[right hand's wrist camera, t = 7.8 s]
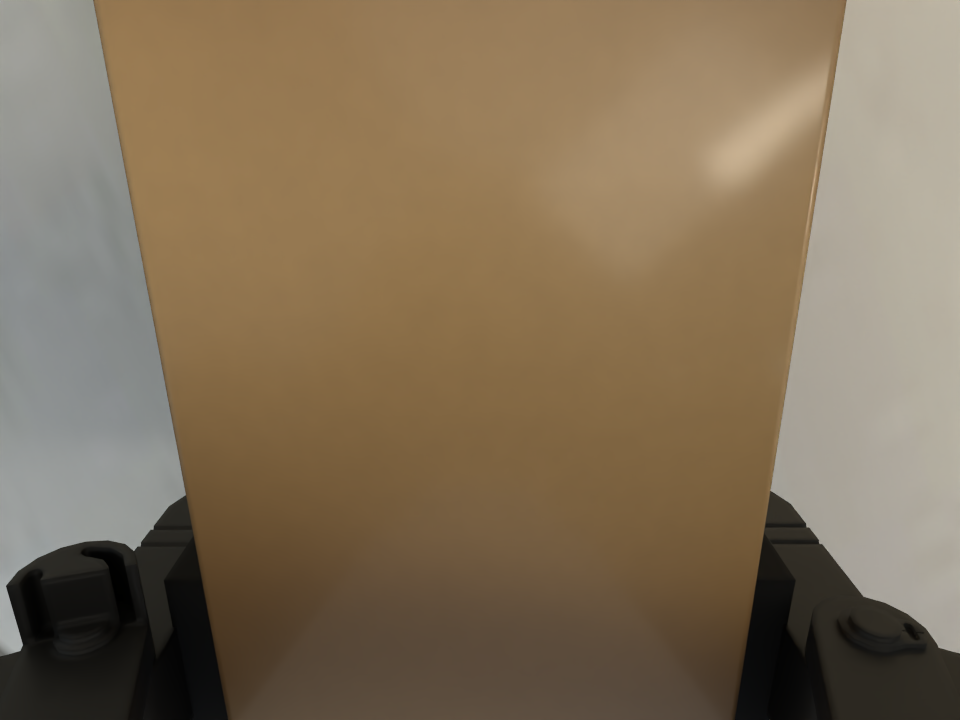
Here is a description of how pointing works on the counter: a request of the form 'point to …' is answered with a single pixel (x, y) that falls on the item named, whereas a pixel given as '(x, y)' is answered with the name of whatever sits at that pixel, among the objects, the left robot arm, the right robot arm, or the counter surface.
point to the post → (475, 336)
